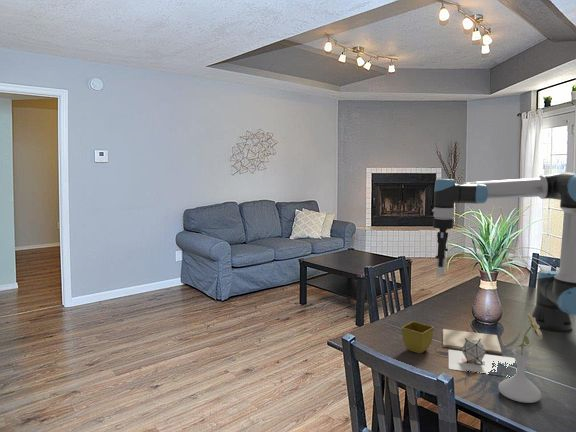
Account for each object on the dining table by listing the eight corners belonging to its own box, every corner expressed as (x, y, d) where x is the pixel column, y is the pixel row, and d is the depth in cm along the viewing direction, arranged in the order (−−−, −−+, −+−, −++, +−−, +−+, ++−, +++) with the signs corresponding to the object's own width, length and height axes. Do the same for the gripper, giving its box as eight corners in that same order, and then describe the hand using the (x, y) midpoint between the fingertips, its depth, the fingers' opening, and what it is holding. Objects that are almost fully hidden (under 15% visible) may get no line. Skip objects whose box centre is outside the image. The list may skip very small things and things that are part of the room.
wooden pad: (496, 337, 174) (496, 335, 174) (501, 354, 159) (501, 351, 159) (442, 331, 181) (443, 329, 181) (442, 346, 166) (442, 344, 166)
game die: (474, 369, 155) (488, 345, 156) (482, 372, 147) (497, 346, 148) (451, 355, 157) (465, 330, 158) (458, 356, 149) (472, 331, 150)
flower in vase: (529, 411, 123) (535, 325, 120) (490, 394, 132) (494, 313, 129) (551, 396, 131) (556, 315, 127) (512, 381, 140) (517, 305, 137)
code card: (514, 358, 156) (514, 357, 156) (521, 379, 141) (522, 378, 141) (448, 349, 163) (448, 349, 163) (448, 368, 148) (448, 368, 148)
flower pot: (400, 350, 163) (400, 326, 162) (412, 343, 169) (413, 320, 168) (421, 357, 157) (422, 333, 156) (433, 350, 163) (434, 326, 162)
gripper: (435, 214, 187) (433, 263, 189) (431, 221, 164) (429, 277, 166) (454, 214, 184) (451, 264, 187) (452, 222, 161) (450, 279, 164)
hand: (441, 270), depth 176 cm, fingers open, 13 cm apart
